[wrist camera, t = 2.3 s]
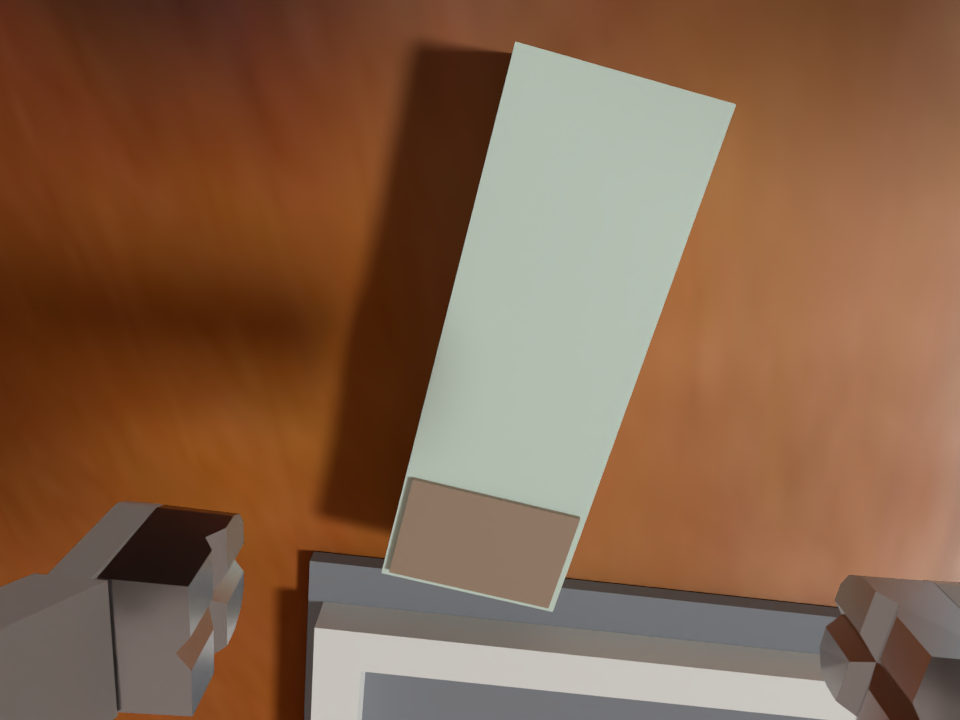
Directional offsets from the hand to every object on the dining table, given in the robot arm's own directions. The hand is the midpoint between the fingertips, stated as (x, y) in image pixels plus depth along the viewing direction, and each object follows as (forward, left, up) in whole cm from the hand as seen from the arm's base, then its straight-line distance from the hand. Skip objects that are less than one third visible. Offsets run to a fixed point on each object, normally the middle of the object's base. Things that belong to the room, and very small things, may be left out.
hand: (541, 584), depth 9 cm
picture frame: (-5, +15, -11) cm, 19 cm away
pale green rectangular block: (0, 0, -11) cm, 11 cm away
